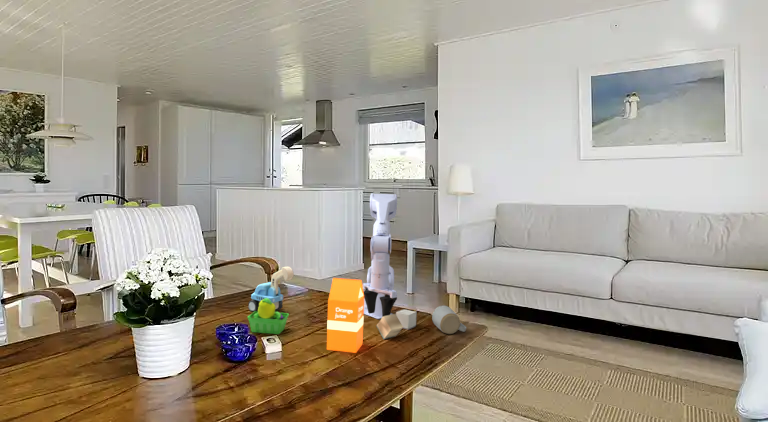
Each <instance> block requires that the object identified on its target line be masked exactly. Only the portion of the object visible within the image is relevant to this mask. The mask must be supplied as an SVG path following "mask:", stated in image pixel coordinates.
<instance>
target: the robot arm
mask: <svg viewBox="0 0 768 422" xmlns="http://www.w3.org/2000/svg"><path fill="white" fill-rule="evenodd" d="M369 209H370V210H369V211H370V212H369V214H370V216H371V217H372V218H374V219H375V221H374V223H373V225H372V227H373V229H372V236H371V237H370V238H371V239H370V260H371V261H370V263H371V264H370V265H371V266H369V267H368V268H367V276H366V282H362V286H363V292H364V315H366V316H369V317H372V318H374V319H376V320H381V319H382V317H383V316H387V315H392V314H393V313H392V309H393V306H394V304H395V303H396V301H397V300H398V291H397V290H395V270H394V268H393V266H391V265H390V260H391V259H390V255H391V253H392V234H391V230H392V229H391V223H390V222H391V220H392V219H394V218H396V215H397V209H398V195H397V194H396V193H394V194H393V193H374V192H371V193H370V195H369Z"/></svg>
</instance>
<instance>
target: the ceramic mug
mask: <svg viewBox="0 0 768 422" xmlns="http://www.w3.org/2000/svg"><path fill="white" fill-rule="evenodd" d="M431 317H432V318H431V319H432V320H431V321H432V323H433V325H434V326H436V328H438V330H440V331H441V332H442V333H444V334H446V335H452V334H454V333H456V332H458V330H459V331H460V332H464V333H465V332H466V330H467V326H466V325H464V323H462V322H461V320H460V317H459V315H458V314H457V313H456V312H455V311H454V310H453V309H452V308H451V307H450V306H447V305H443V304H442V305H439V306H437V307H436V308H435V309H434V310H433V312H432V315H431Z"/></svg>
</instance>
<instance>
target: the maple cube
mask: <svg viewBox="0 0 768 422" xmlns="http://www.w3.org/2000/svg"><path fill="white" fill-rule="evenodd" d="M375 327H376V328H377V330H378V331H379V334H380V336H381V337H382V339H383V340H386V339H387V340H388V339H390V338H394V337H396V336H398V335H399V334H400V332H401V330H402V329H403V326H402V324H401V322H400V321H399V319H398V317H397V316H396V313H392V315H387V316H383V317H382V318H381V319H379V321H378V323H377V324H376V326H375Z"/></svg>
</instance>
